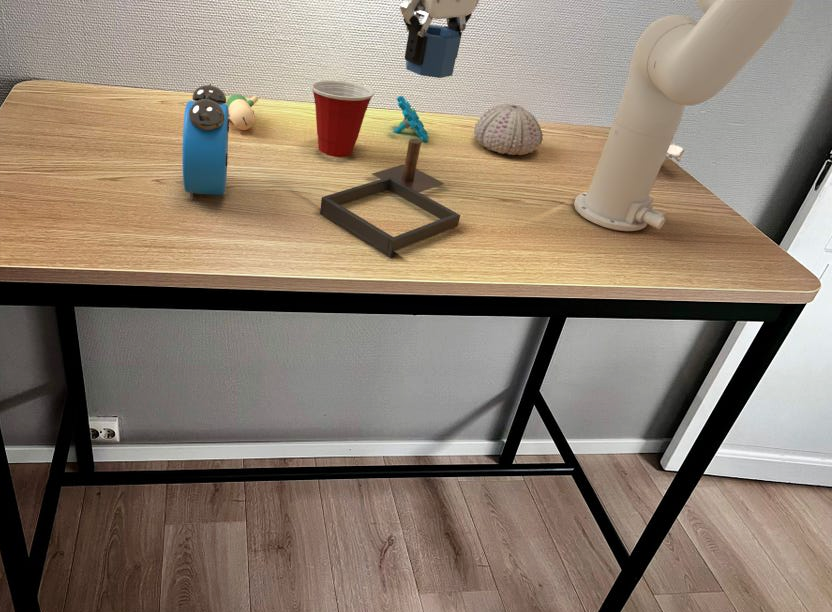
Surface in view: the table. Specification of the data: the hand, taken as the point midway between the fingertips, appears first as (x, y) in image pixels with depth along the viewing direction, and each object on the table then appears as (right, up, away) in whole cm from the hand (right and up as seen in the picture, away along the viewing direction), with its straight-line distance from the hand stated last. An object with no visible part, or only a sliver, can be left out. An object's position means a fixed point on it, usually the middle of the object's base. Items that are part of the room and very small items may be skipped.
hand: (430, 58), depth 109 cm
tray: (-6, -24, +3) cm, 25 cm away
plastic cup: (-15, -9, +20) cm, 27 cm away
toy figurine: (-33, -1, +26) cm, 42 cm away
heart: (+46, -7, +36) cm, 59 cm away
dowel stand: (-3, -15, +14) cm, 21 cm away
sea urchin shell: (+18, -3, +34) cm, 39 cm away
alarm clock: (-34, -19, +3) cm, 39 cm away
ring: (0, -1, +1) cm, 2 cm away
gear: (-1, -2, +31) cm, 31 cm away
